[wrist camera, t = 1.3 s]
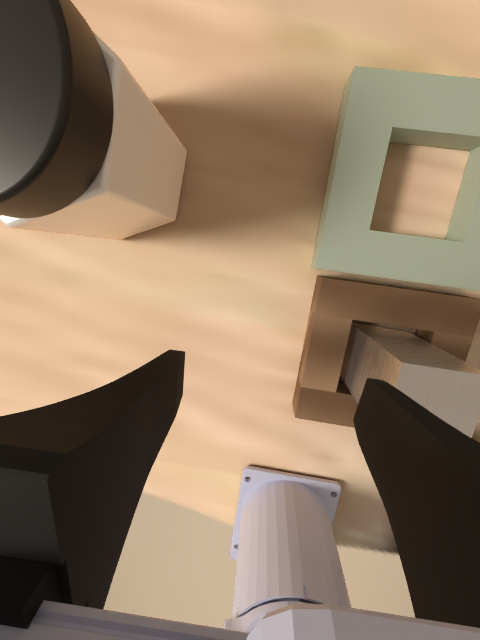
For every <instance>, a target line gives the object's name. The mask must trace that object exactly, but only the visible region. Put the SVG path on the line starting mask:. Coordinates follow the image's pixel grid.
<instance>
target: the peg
mask: <svg viewBox="0 0 480 640" xmlns="http://www.w3.org/2000/svg"><path fill="white" fill-rule="evenodd" d="M340 376H341V378H342V380H343V381H344V383H345V384H346V386H347V387H348V389H349V391H350V392H351V394H352V395H353V397H354V399H355V400H356V402H357V403H359V400H360V397H361V394H362V391H363V388H364V385H365V382H366V379H367V378H372V379H379V380H384V381H386V382H387V383H389V384H391V385H392V386H394V387H395V388H397V389H398V390H400V391H401V392H403V393H404V394H406V395H407V396H408V397H410V398H411V399H413V400H414V401H416V402H417V403H418V404H420V405H421V406H423V407H424V408H426V409H427V410H429V411H430V412H431V413H433V414H434V415H436V416H437V417H439V418H440V419H442V420H443V421H445V422H446V423H448V424H450V425H451V426H453V427H454V428H456V429H457V430H459V431H460V432H462V433H464V434H465V435H467V436H469V437H470V438H472V435H473V432H474V430H475V427H476V424H477V421H478V418H479V416H480V369H478V368H476V367H474V366H472V365H471V364H469V363H467V362H465V361H463V360H461V359H459V358H457V357H455V356H453V355H452V354H450V353H448V352H446V351H444V350H442V349H440V348H438V347H436V346H434V345H432V344H431V343H429V342H427V341H425V340H423V339H421V338H419V337H417V336H415V335H413V334H412V333H410V332H408V331H403V330H396V329H389V328H382V327H375V326H369V325H362V324H355V323H352V324H351V328H350V333H349V337H348V341H347V346H346V350H345V355H344V359H343V363H342V368H341V372H340Z"/></svg>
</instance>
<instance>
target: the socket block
mask: <svg viewBox="0 0 480 640" xmlns="http://www.w3.org/2000/svg"><path fill="white" fill-rule="evenodd" d="M479 318H480V299H476V298H471V297H466V296H460V295H453V294H446V293H439V292H432V291H425V290H417V289H410V288H403V287H396V286H389V285H382V284H374V283H367V282H360V281H353V280H346V279H338V278H331V277H324V276H317V279H316V284H315V289H314V294H313V299H312V305H311V310H310V315H309V320H308V325H307V331H306V336H305V341H304V346H303V351H302V357H301V362H300V367H299V372H298V377H297V383H296V388H295V393H294V398H293V403H292V404H293V409H294V415H295V418H300V419H306V420H312V421H318V422H324V423H330V424H336V425H342V426H348V427H354V428H355V426H354V422H353V418H354V415H355V412H356V409H357V406H358V403H357V402H356V400H355V399H354V397H353V395H352V394H351V392H350V391H349V389H348V387H347V386H346V384H345V383H343V382H338V381H339V377H340V372H341V368H342V363H343V359H344V355H345V350H346V346H347V341H348V337H349V333H350V328H351V324H352V320H358V321H365V322H372V323H379V324H386V325H393V326H399V327H406V328H413V329H417V331H416V334H415V336H417V337H419V338H421V339H423V340H425V341H427V342H429V343H431V344H432V345H434V346H436V347H438V348H440V349H442V350H444V351H446V352H448V353H450V354H452V355H453V356H455V357H457V358H459V359H461V360H463V361H465V360H466V357H467V354H468V351H469V348H470V345H471V342H472V339H473V336H474V333H475V330H476V327H477V324H478V321H479Z"/></svg>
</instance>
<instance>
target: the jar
mask: <svg viewBox="0 0 480 640" xmlns="http://www.w3.org/2000/svg"><path fill="white" fill-rule="evenodd" d="M186 156H187V150H186V148H185V147H184V145H183V144H182V143H181V141H180V140H179V138H178V137H177V136H176V134H175V133H174V132H173V130H172V129H171V128H170V126H169V125H168V123H167V122H166V121H165V119H164V118H163V117H162V115H161V114H160V112H159V111H158V110H157V108H156V107H155V106H154V104H153V103H152V102H151V100H150V99H149V97H148V96H147V95H146V93H145V92H144V91H143V89H142V88H141V86H140V85H139V84H138V82H137V81H136V80H135V78H134V77H133V75H132V74H131V73H130V71H129V70H128V69H127V67H126V66H125V65H124V63H123V62H122V60H121V59H120V58H119V57H118V56H117V55H116V54H115V53H114V52H113V51H112V50H111V49H110V48H109V47H108V46H107V45H106V44H105V43H104V42H103V41H102V40H101V39H100V38H99V37H98V36H97V35H96V34H95V33H94V32H93V31H92V30H91V28H90V27H89V25H88V24H87V22H86V21H85V19H84V18H83V16H82V15H81V14H80V12H79V11H78V10H77V8H76V7H75V6H74V4H73V3H72V2H71V1H70V0H0V221H1V222H2V223H4V224H5V225H6V226H7V227H9V228H14V229H23V230H32V231H41V232H50V233H59V234H68V235H76V236H85V237H94V238H103V239H112V240H121V239H124V238H127V237H130V236H133V235H135V234H138V233H141V232H144V231H147V230H150V229H153V228H156V227H159V226H161V225H164V224H167V223H170V222H173V221H175V220H176V216H177V210H178V204H179V198H180V192H181V186H182V180H183V174H184V168H185V162H186Z"/></svg>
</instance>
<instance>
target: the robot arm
mask: <svg viewBox="0 0 480 640" xmlns="http://www.w3.org/2000/svg"><path fill="white" fill-rule="evenodd" d="M184 363H185V352H183V351H177V350H168V351H166V352H165V353H163V354H161V355H160V356H158V357H157V358H155V359H153V360H152V361H150V362H148V363H147V364H145V365H143V366H141V367H140V368H138V369H136V370H134V371H132V372H131V373H129V374H127V375H125V376H123V377H121V378H119V379H117V380H115V381H113V382H111V383H109V384H107V385H104V386H102V387H100V388H97V389H95V390H92V391H90V392H87V393H84V394H82V395H79V396H76V397H73V398H70V399H67V400H63V401H60V402H57V403H54V404H51V405H47V406H43V407H40V408H36V409H32V410H28V411H24V412H19V413H15V414H10V415H5V416H0V640H480V443H479V442H477V441H475V440H474V439H472V438H470V437H469V436H467V435H465V434H464V433H462V432H460V431H459V430H457V429H456V428H454V427H453V426H451V425H450V424H448V423H446V422H445V421H443V420H442V419H440V418H439V417H437V416H436V415H434V414H433V413H431V412H430V411H429V410H427V409H426V408H424V407H423V406H421V405H420V404H418V403H417V402H416V401H414V400H413V399H411V398H410V397H408V396H407V395H406V394H404V393H403V392H401V391H400V390H398V389H397V388H395V387H394V386H392V385H391V384H389V383H387V382H386V381H384V380H379V379H372V378H367V379H366V382H365V385H364V388H363V391H362V394H361V397H360V400H359V403H358V406H357V409H356V412H355V415H354V418H353V422H354V426H355V430H356V434H357V438H358V442H359V445H360V447H361V450H362V453H363V455H364V457H365V460H366V462H367V465H368V467H369V470H370V472H371V475H372V477H373V479H374V482H375V484H376V487H377V489H378V491H379V494H380V496H381V499H382V501H383V504H384V507H385V509H386V512H387V515H388V518H389V521H390V524H391V528H392V531H393V534H394V538H395V541H396V544H397V548H398V551H399V555H400V559H401V562H402V566H403V569H404V573H405V577H406V581H407V584H408V588H409V593H410V597H411V601H412V605H413V609H414V613H415V617H416V618H412V617H405V616H400V615H393V614H387V613H380V612H374V611H368V610H361V609H355V608H351V604H350V600H349V596H348V592H347V588H346V583H345V579H344V575H343V572H342V568H341V563H340V559H339V555H338V551H337V547H336V543H335V539H334V535H333V531H332V524H333V520H334V517H335V513H336V509H337V505H338V501H339V497H340V493H341V486H340V484H339V483H338V482H337V481H332V480H327V479H321V478H315V477H310V476H304V475H298V474H293V473H287V472H281V471H276V470H270V469H264V468H259V467H253V466H246V467H244V469H243V473H242V479H241V486H240V492H239V498H238V505H237V511H236V517H235V523H234V530H233V536H232V542H231V549H230V557H231V558H232V559H234V560H237V568H236V579H235V590H234V601H233V613H232V619H226V620H225V621H224V629H221V628H215V627H209V626H202V625H196V624H189V623H184V622H177V621H171V620H165V619H159V618H152V617H146V616H139V615H133V614H127V613H121V612H115V611H109V610H103V607H104V605H105V601H106V598H107V595H108V592H109V589H110V585H111V582H112V579H113V576H114V573H115V570H116V567H117V564H118V561H119V558H120V555H121V552H122V548H123V545H124V542H125V539H126V536H127V534H128V530H129V528H130V525H131V522H132V519H133V516H134V513H135V510H136V507H137V505H138V502H139V499H140V496H141V493H142V491H143V488H144V485H145V482H146V480H147V477H148V475H149V472H150V470H151V468H152V465H153V463H154V461H155V459H156V457H157V455H158V453H159V451H160V449H161V446H162V444H163V442H164V440H165V438H166V436H167V434H168V432H169V430H170V427H171V425H172V423H173V421H174V419H175V417H176V414H177V411H178V408H179V405H180V401H181V398H182V395H183V379H184ZM246 477H250V478H246ZM332 492H335V493H333V494H332ZM236 544H237V545H236Z"/></svg>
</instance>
